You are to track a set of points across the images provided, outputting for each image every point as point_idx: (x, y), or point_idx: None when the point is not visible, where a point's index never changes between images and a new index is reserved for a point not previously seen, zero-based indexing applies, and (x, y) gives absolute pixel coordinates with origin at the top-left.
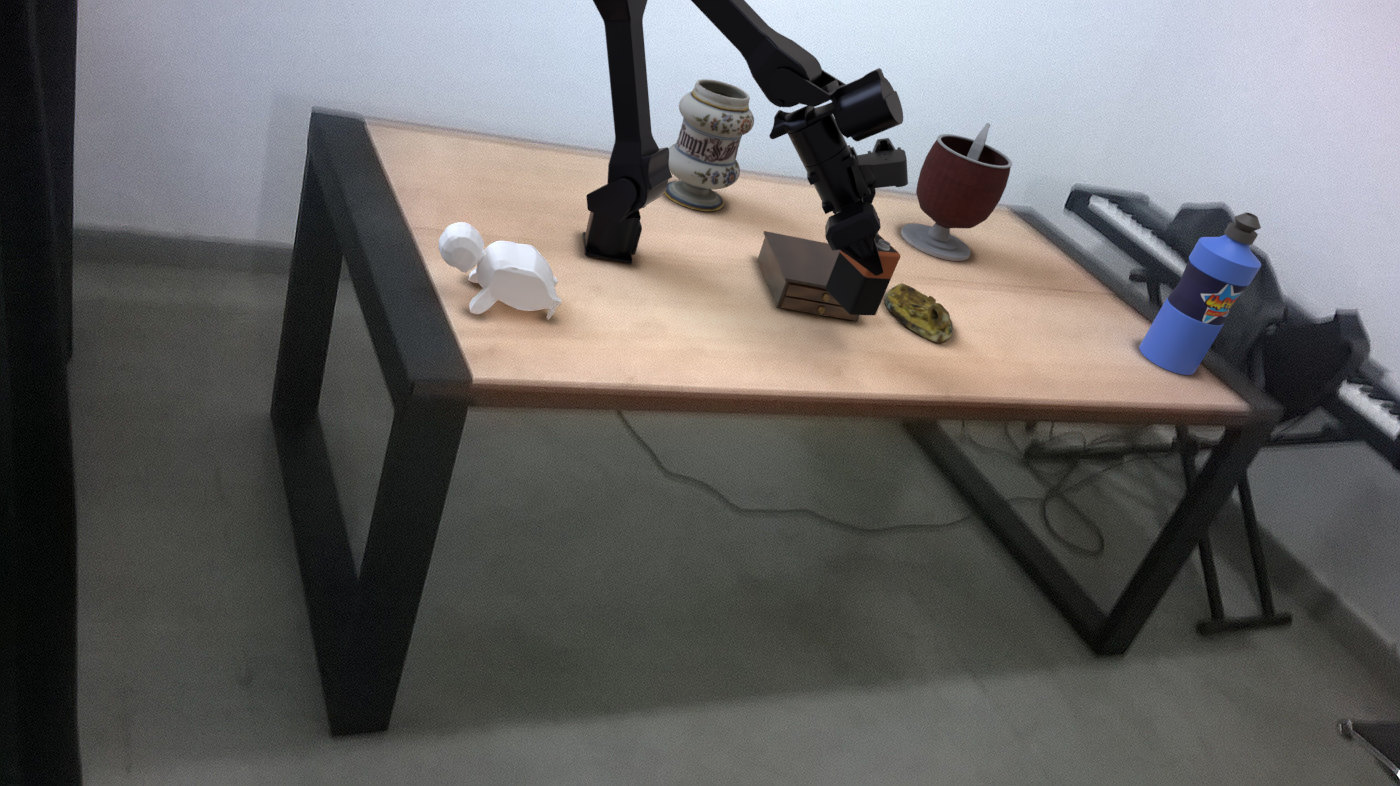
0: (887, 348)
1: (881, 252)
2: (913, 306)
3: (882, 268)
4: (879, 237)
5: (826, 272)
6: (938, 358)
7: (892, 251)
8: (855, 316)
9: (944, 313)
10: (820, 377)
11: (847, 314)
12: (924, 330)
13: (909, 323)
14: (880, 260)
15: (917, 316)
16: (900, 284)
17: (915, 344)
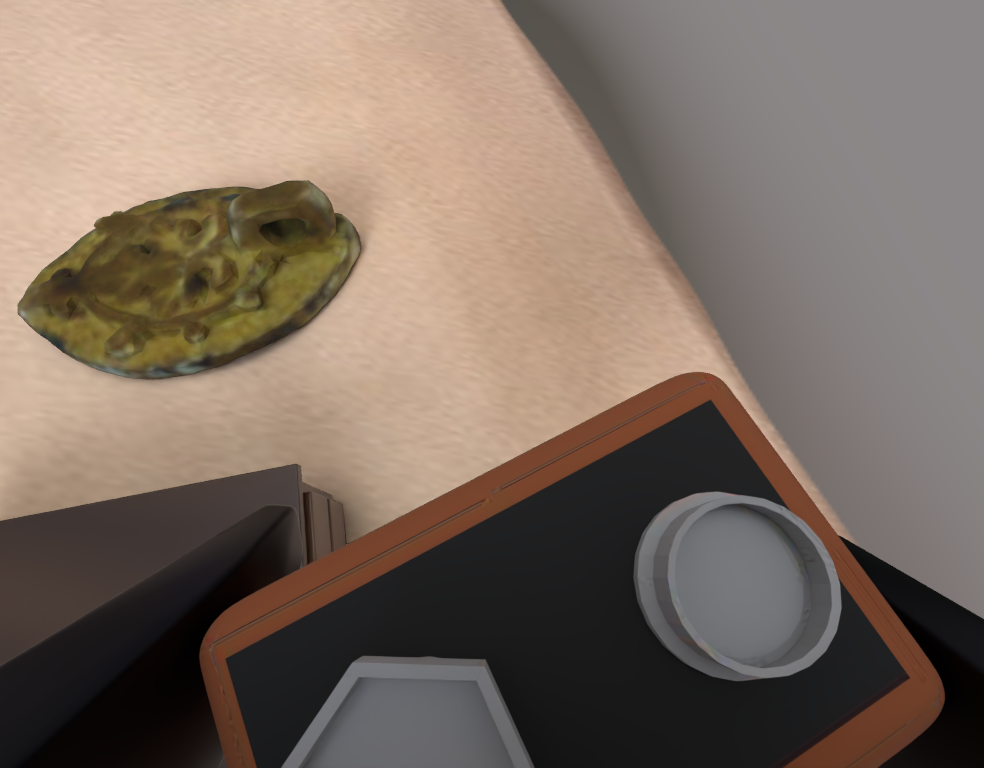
0: (473, 405)
1: (873, 611)
2: (202, 290)
3: (871, 556)
4: (423, 589)
5: None
6: (452, 257)
7: (739, 460)
8: (338, 509)
9: (306, 194)
10: None
11: (341, 542)
12: (333, 275)
13: (300, 316)
14: (952, 613)
15: (262, 285)
16: (29, 313)
17: (398, 312)
